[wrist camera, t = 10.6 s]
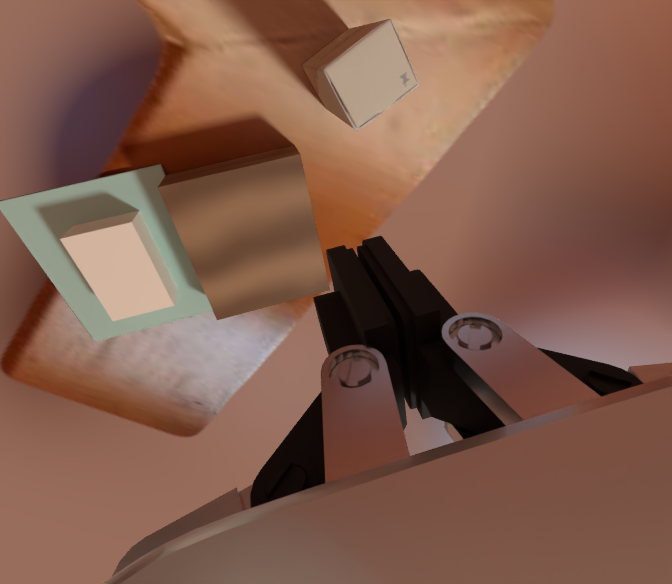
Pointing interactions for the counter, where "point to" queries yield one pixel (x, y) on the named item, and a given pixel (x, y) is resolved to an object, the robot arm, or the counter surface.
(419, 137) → the counter surface
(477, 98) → the counter surface
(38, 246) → the mat
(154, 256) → the beige rectangular block
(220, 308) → the plate
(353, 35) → the box
